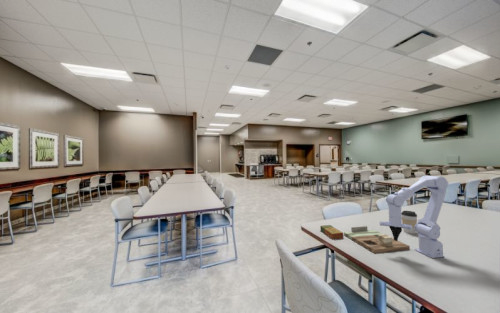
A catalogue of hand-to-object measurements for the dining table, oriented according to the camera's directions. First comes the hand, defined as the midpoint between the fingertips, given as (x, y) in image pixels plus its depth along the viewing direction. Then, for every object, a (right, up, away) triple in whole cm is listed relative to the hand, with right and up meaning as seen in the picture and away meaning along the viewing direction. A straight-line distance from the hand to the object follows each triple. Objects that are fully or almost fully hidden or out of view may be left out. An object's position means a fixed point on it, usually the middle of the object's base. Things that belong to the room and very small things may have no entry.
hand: (395, 240), depth 105 cm
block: (-1, -6, +7) cm, 9 cm away
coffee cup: (+34, -8, +30) cm, 46 cm away
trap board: (-2, -8, +15) cm, 17 cm away
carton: (-24, -9, +28) cm, 38 cm away
